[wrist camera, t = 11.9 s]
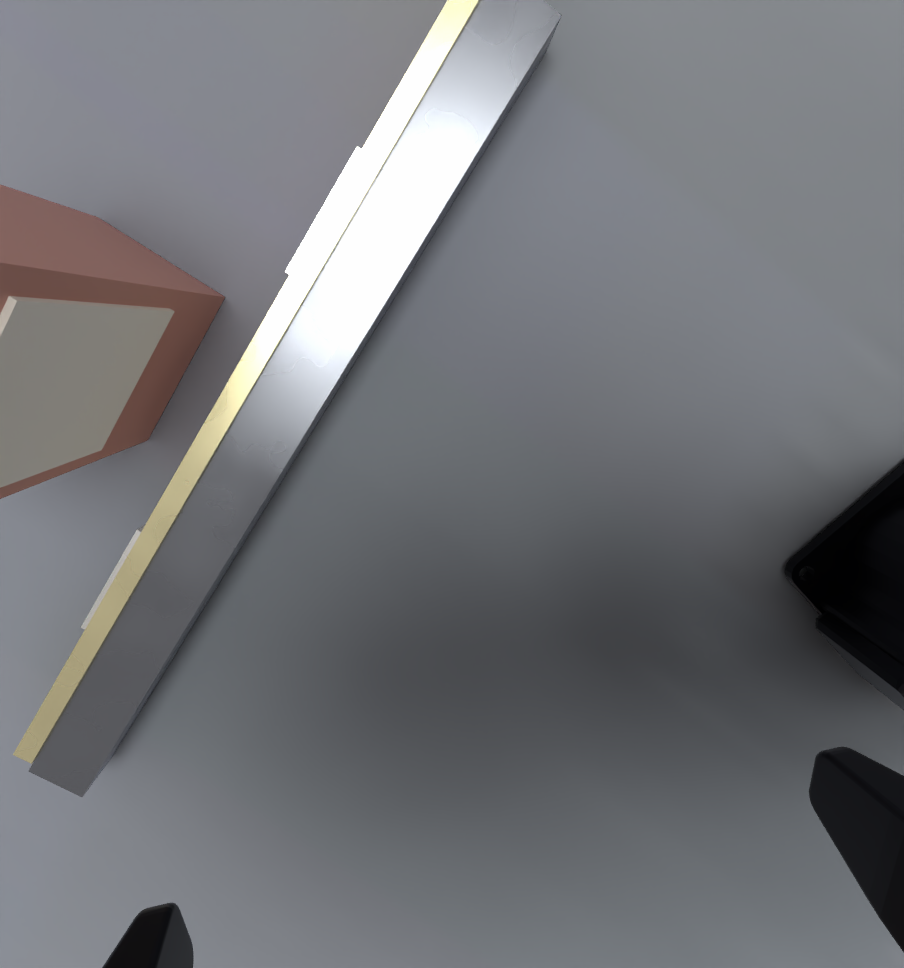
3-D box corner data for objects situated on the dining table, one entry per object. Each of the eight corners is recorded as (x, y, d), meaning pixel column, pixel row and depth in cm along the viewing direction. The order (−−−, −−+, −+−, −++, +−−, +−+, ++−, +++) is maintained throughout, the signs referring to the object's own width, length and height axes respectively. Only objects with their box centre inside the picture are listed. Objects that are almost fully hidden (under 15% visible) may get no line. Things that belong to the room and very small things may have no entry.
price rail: (546, 50, 17) (563, 10, 15) (113, 755, 22) (78, 801, 20) (467, -13, 17) (473, -62, 15) (42, 720, 22) (-1, 763, 19)
